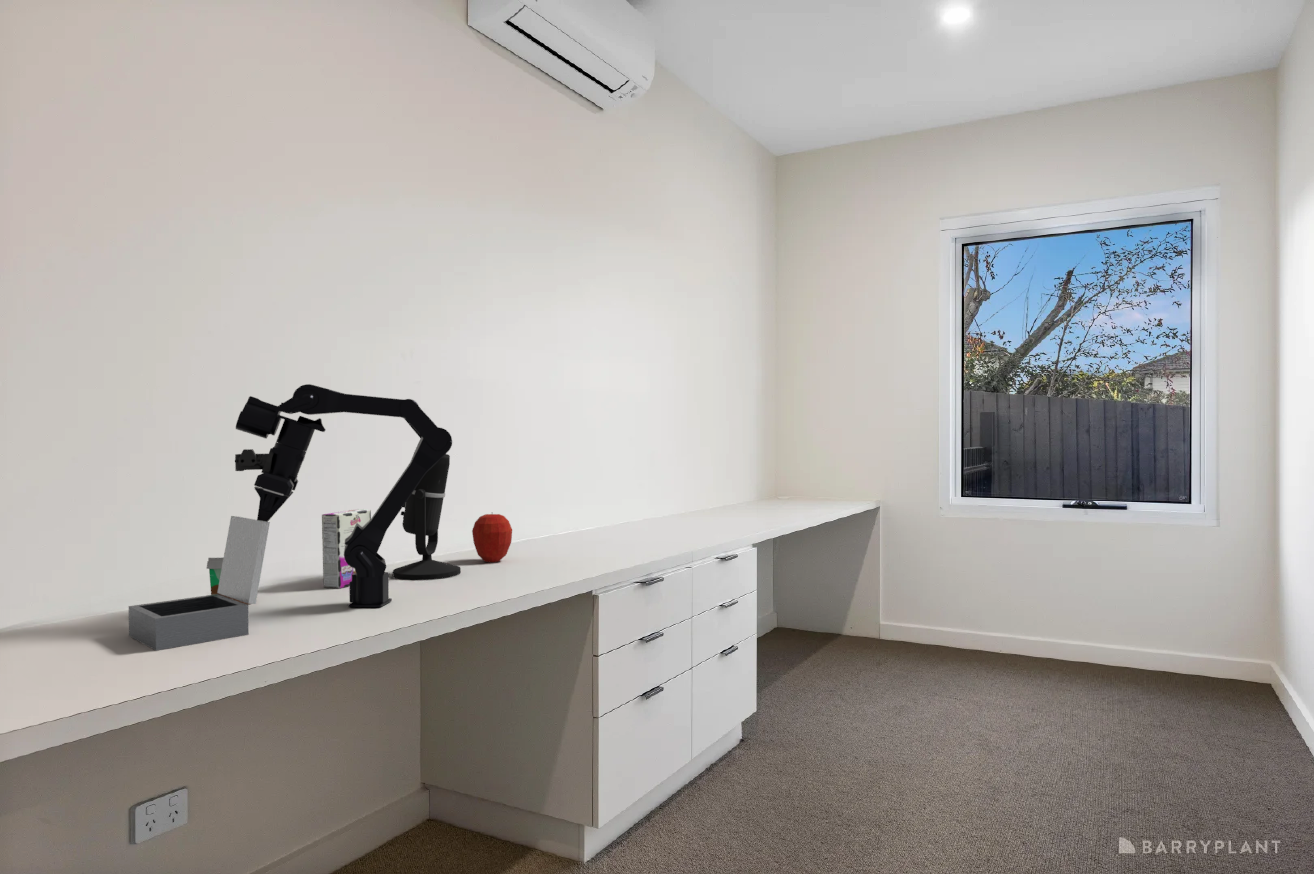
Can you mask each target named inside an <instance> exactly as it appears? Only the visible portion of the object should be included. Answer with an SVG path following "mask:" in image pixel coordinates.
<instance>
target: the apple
mask: <svg viewBox="0 0 1314 874" xmlns="http://www.w3.org/2000/svg"><path fill="white" fill-rule="evenodd" d="M472 527H473V528H472V530H471V533H472V540H473V545H474V547H475V550H476V553H477V555H478V557H480V559H481V560H483V561H484V562H486V563H492V564H493V563H498V562H500V561H502V559H503V558H504V557H506V556H507V554H508V552H509V549H510V546H511V544H512V538H513V537H512V536H513V528H512V526H511V523H510V520H508V518H507V517H506V516H505V515H503V514H500V513H490V514H489V513H486V514H483V515H481V516H479V517H478V518H477V519H476V520H475V522H474V524H473V526H472Z"/></svg>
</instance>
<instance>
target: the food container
mask: <svg viewBox="0 0 1314 874" xmlns="http://www.w3.org/2000/svg"><path fill="white" fill-rule="evenodd" d="M223 558H224V556H223V557H208V561H207V563H206V570H207V569H208V570H209V571H208V573H209V583H210V595H214V594H219V593H217V592H218V586H219V581H220V575H221V570H222V564H223ZM219 595H221V596H224V597H227V596H225V595H222V594H219ZM227 598H230V597H227ZM230 599H233V598H230ZM233 600H236V599H233ZM236 601H238V602H241V603H244V604H247V605H248V606H249V605H251V604H248V603H245V602H242V601H239V600H236Z"/></svg>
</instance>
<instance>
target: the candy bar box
mask: <svg viewBox="0 0 1314 874" xmlns="http://www.w3.org/2000/svg"><path fill="white" fill-rule="evenodd" d="M371 511H372V510H371V509H364V508H363V509H359V508H357V509H351V510H350V509H349V510H343V511H337V512H335V511H334V512H330V513H324V514H321V535H322V536H321V539H322V540H321V541H322V543H321V545H322V582H323V585H322V586H323V588H327V589H342V588H347V587H349V583H350V582H351V581H352V574H354V573H356V571H355V568H353V567H351V566H349V565H348V564H347V563H346V561H345V558H344V549H345V546H346V545H345V539H346V538H347V537H349V536H350V535H351V533H352V532H353V530H354V527H355V525H356V524H357V523H358V524H359V525H360V526H361V527H363V526H364V525H365V524H366V523H367V522H368V521H369V520H370V519H371V518H372V515H371V514H372V512H371Z"/></svg>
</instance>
